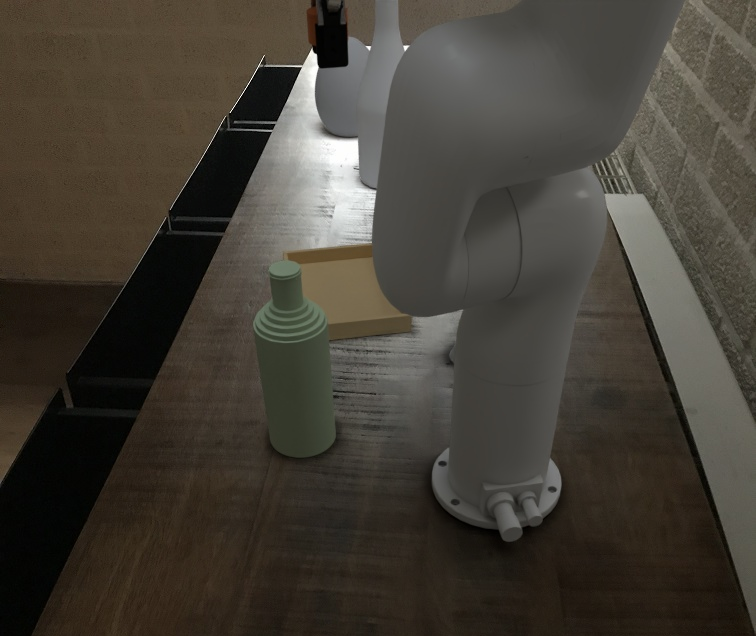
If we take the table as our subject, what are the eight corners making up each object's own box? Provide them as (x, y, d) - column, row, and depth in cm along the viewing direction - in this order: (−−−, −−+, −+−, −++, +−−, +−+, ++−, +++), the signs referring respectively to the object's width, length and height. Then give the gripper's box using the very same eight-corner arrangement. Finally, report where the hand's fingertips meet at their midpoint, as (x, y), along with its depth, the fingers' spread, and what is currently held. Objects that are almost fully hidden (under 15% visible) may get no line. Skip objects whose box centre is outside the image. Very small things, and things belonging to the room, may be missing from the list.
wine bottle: (427, 185, 128) (432, -37, 107) (371, 195, 125) (366, -29, 104) (403, 163, 134) (404, -50, 113) (351, 173, 132) (341, -43, 111)
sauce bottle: (339, 453, 82) (328, 283, 69) (272, 461, 82) (246, 291, 68) (331, 411, 87) (319, 245, 73) (267, 419, 87) (243, 252, 73)
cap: (309, 35, 84) (306, 5, 82) (348, 34, 84) (347, 4, 82) (308, 47, 81) (305, 16, 79) (348, 46, 81) (347, 15, 79)
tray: (411, 331, 98) (411, 315, 96) (296, 343, 97) (294, 327, 95) (385, 256, 112) (384, 241, 110) (284, 266, 110) (282, 251, 108)
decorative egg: (391, 119, 149) (390, 28, 138) (374, 144, 140) (372, 49, 130) (328, 114, 151) (323, 25, 140) (308, 139, 142) (301, 45, 132)
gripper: (269, -175, 76) (288, 38, 90) (283, -152, 65) (302, 89, 78) (347, -178, 77) (354, 34, 90) (374, -156, 66) (378, 83, 79)
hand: (330, 57), depth 84 cm, fingers closed on cap, 4 cm apart
